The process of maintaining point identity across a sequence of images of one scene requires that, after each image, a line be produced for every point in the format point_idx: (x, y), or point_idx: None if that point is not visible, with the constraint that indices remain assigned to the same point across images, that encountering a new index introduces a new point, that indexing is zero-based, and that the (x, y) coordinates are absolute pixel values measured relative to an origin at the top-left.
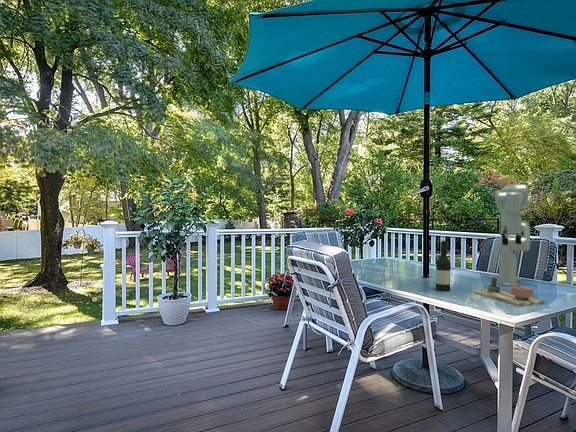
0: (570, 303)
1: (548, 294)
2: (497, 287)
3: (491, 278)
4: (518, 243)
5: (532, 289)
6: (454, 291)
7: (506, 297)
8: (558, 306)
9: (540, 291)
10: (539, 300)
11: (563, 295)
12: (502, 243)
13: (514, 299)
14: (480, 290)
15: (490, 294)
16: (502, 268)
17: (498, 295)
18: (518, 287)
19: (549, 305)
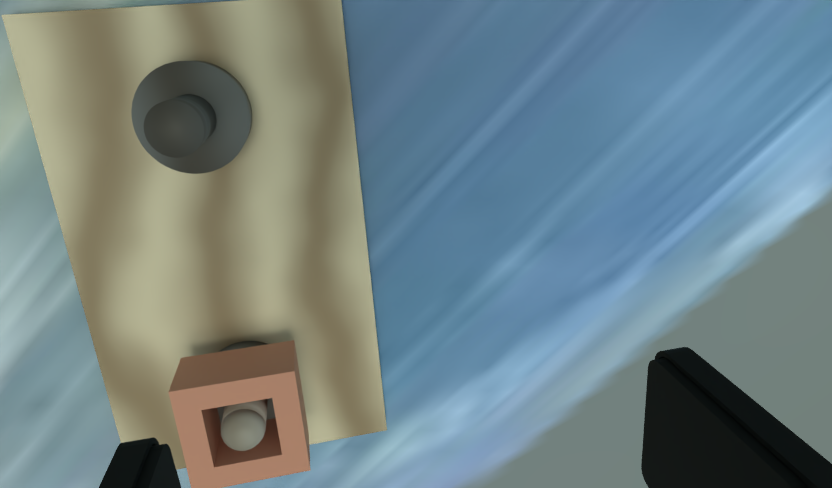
0: (549, 421)
1: (644, 200)
2: (198, 167)
3: (149, 112)
4: (648, 447)
5: (303, 469)
6: None
7: (165, 319)
8: (411, 473)
9: (680, 103)
10: (356, 417)
11: (711, 242)
12: (115, 466)
13: None
14: (86, 40)
15: (86, 208)
16: None
17: (140, 252)
18: (235, 403)
19: (376, 452)
